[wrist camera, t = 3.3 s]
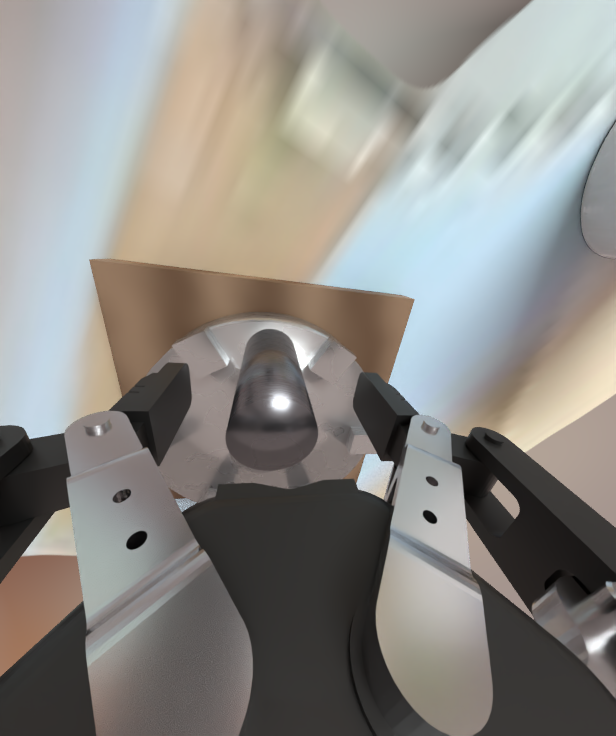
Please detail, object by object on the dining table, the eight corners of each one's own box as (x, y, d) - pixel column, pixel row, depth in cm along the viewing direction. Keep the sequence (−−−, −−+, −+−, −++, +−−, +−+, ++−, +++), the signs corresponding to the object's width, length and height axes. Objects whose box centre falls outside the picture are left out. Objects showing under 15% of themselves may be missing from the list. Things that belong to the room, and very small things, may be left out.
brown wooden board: (155, 482, 25) (146, 502, 23) (109, 258, 16) (87, 259, 14) (349, 474, 29) (354, 490, 27) (401, 295, 20) (415, 299, 18)
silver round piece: (163, 489, 22) (88, 659, 13) (126, 298, 15) (-115, 376, 6) (344, 480, 26) (387, 609, 17) (388, 323, 18) (514, 396, 9)
